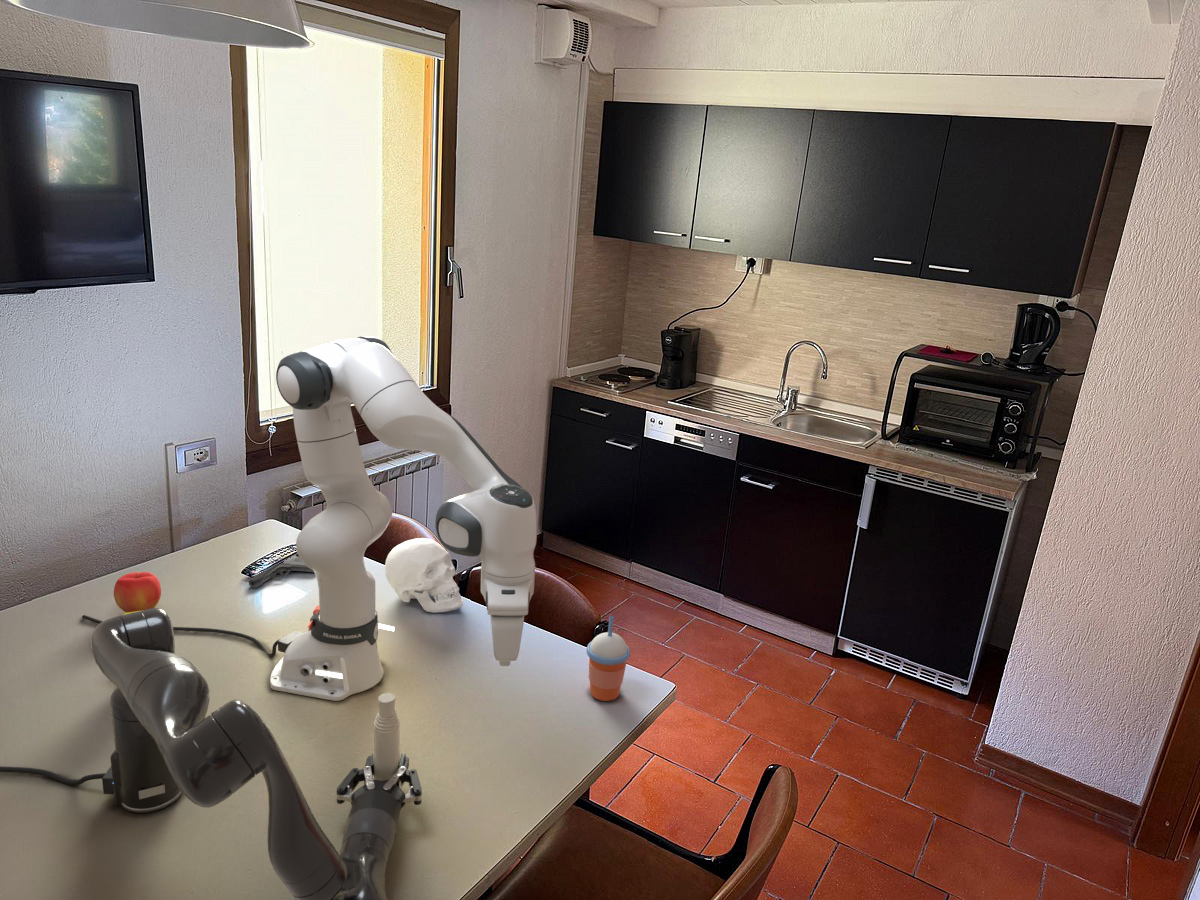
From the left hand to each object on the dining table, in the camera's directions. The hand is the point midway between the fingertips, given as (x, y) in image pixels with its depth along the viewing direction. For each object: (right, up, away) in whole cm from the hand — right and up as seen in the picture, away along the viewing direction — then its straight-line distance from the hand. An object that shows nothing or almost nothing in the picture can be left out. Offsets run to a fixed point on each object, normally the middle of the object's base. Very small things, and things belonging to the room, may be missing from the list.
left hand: (389, 757), depth 146 cm
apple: (-70, +15, +50) cm, 87 cm away
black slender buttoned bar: (-45, +20, +74) cm, 89 cm away
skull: (-7, +15, +67) cm, 69 cm away
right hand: (+20, +18, -1) cm, 27 cm away
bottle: (0, -7, -1) cm, 7 cm away
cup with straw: (+37, +1, +34) cm, 50 cm away
